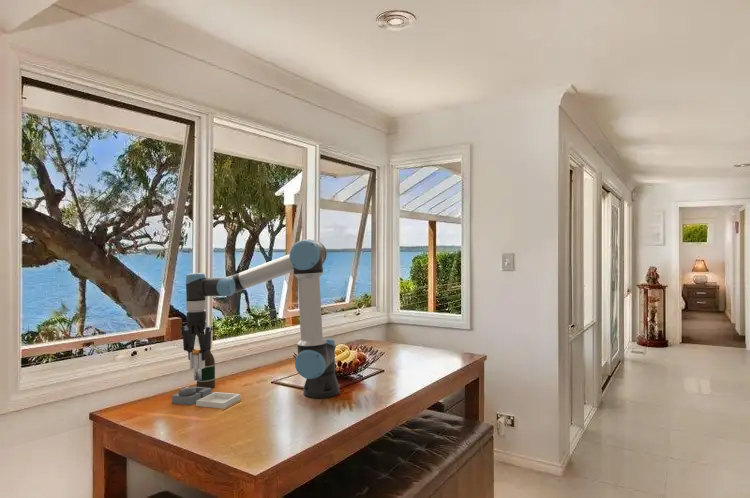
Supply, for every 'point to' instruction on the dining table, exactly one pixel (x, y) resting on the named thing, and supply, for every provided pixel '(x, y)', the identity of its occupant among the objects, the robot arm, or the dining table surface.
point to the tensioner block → (190, 395)
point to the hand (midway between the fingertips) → (197, 368)
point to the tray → (219, 400)
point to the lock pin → (196, 364)
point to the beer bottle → (208, 372)
